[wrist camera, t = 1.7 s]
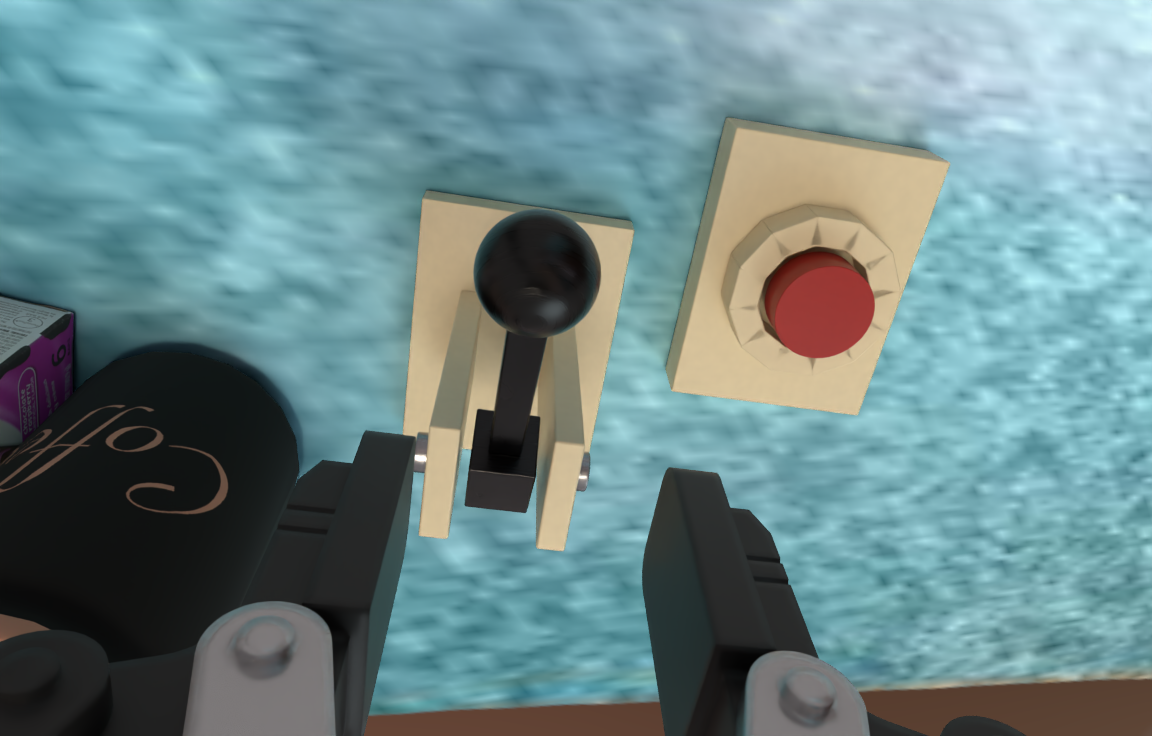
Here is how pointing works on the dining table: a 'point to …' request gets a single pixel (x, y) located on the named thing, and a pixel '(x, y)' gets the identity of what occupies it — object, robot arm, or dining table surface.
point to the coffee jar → (143, 505)
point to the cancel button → (819, 304)
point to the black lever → (525, 340)
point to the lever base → (473, 359)
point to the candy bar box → (32, 367)
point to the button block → (784, 231)
